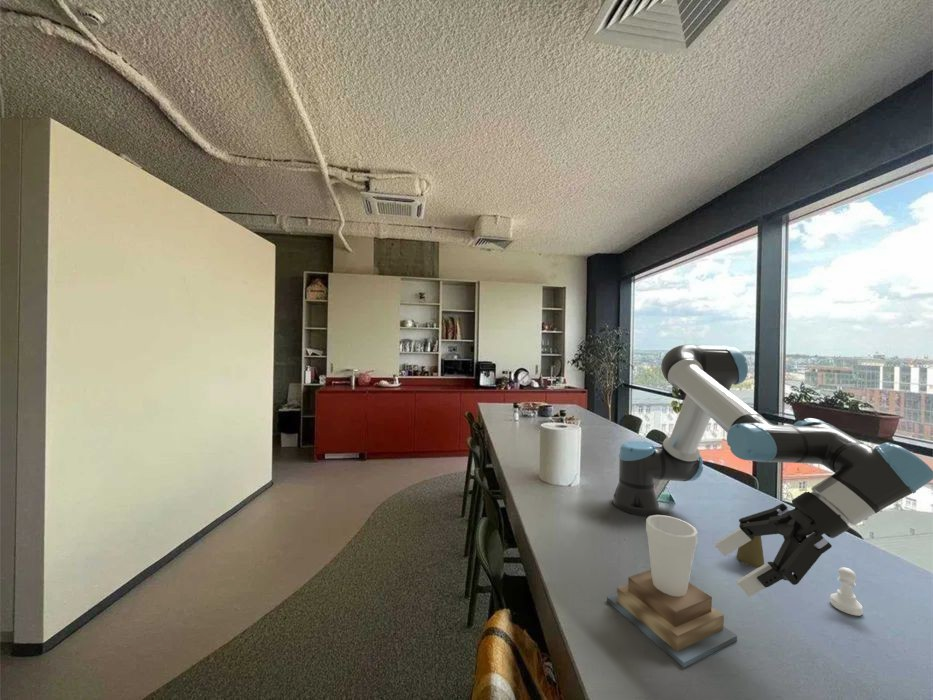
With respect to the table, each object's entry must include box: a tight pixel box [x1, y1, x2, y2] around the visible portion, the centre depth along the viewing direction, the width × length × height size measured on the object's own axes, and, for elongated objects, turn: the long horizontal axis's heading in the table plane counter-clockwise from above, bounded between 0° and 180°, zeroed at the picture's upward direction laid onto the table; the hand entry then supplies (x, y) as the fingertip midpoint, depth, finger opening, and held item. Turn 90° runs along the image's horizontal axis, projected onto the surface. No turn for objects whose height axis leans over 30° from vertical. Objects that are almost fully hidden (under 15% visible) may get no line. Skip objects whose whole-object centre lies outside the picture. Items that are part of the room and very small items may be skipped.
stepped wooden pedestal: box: [606, 569, 738, 669], centre depth 75 cm, size 18×16×7 cm
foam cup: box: [645, 514, 699, 597], centre depth 75 cm, size 10×9×13 cm
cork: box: [736, 522, 765, 568], centre depth 97 cm, size 6×6×11 cm
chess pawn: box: [829, 566, 864, 617], centre depth 80 cm, size 5×5×9 cm
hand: (729, 567), depth 71 cm, fingers open, 13 cm apart
